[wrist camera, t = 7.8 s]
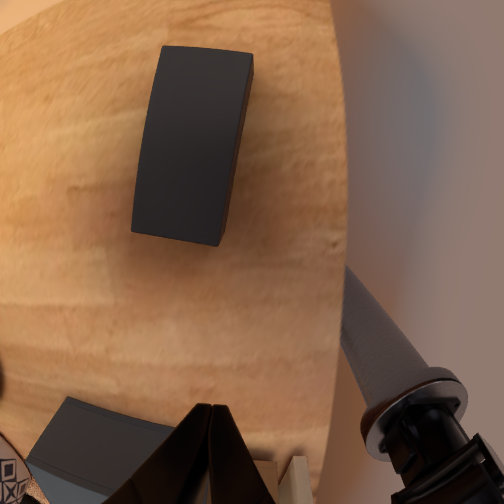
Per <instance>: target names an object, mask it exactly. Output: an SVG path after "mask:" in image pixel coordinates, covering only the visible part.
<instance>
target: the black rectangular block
mask: <svg viewBox="0 0 504 504" xmlns="http://www.w3.org/2000/svg"><path fill="white" fill-rule="evenodd" d="M253 75H254V63H253V54H252V53H245V52H238V51H230V50H221V49H211V48H199V47H184V46H162V49H161V53H160V57H159V61H158V65H157V69H156V73H155V78H154V82H153V87H152V91H151V96H150V101H149V106H148V111H147V116H146V121H145V127H144V132H143V138H142V144H141V151H140V157H139V164H138V171H137V178H136V186H135V195H134V204H133V213H132V224H131V231H132V232H136V233H141V234H147V235H153V236H158V237H164V238H170V239H175V240H181V241H187V242H193V243H198V244H204V245H210V246H215V247H217V246H219V243H220V241H221V239H222V237H223V234H224V232H225V228H226V222H227V216H228V210H229V204H230V198H231V192H232V186H233V181H234V175H235V169H236V164H237V158H238V153H239V147H240V142H241V136H242V131H243V126H244V120H245V115H246V110H247V105H248V100H249V95H250V90H251V85H252V80H253Z"/></svg>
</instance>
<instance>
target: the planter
mask: <svg viewBox="0 0 504 504" xmlns="http://www.w3.org/2000/svg"><path fill="white" fill-rule="evenodd" d="M30 483H31V476H30V473H29V471H28V469H27V467H26V466H25V464H24V463H23V461H22V460H21V458H20V457H19V456H18V454H17V453H16V452H15V451H14V449H13V448H12V447H11V446H10V445H9V444H8V443H7V442H6V440H5V439H4V438H3V437H2V436H1V435H0V504H19V503H20V502H21V500H22V498H23V496H24V494H25V492H26V490H27V489H28V487H29V485H30Z"/></svg>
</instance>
